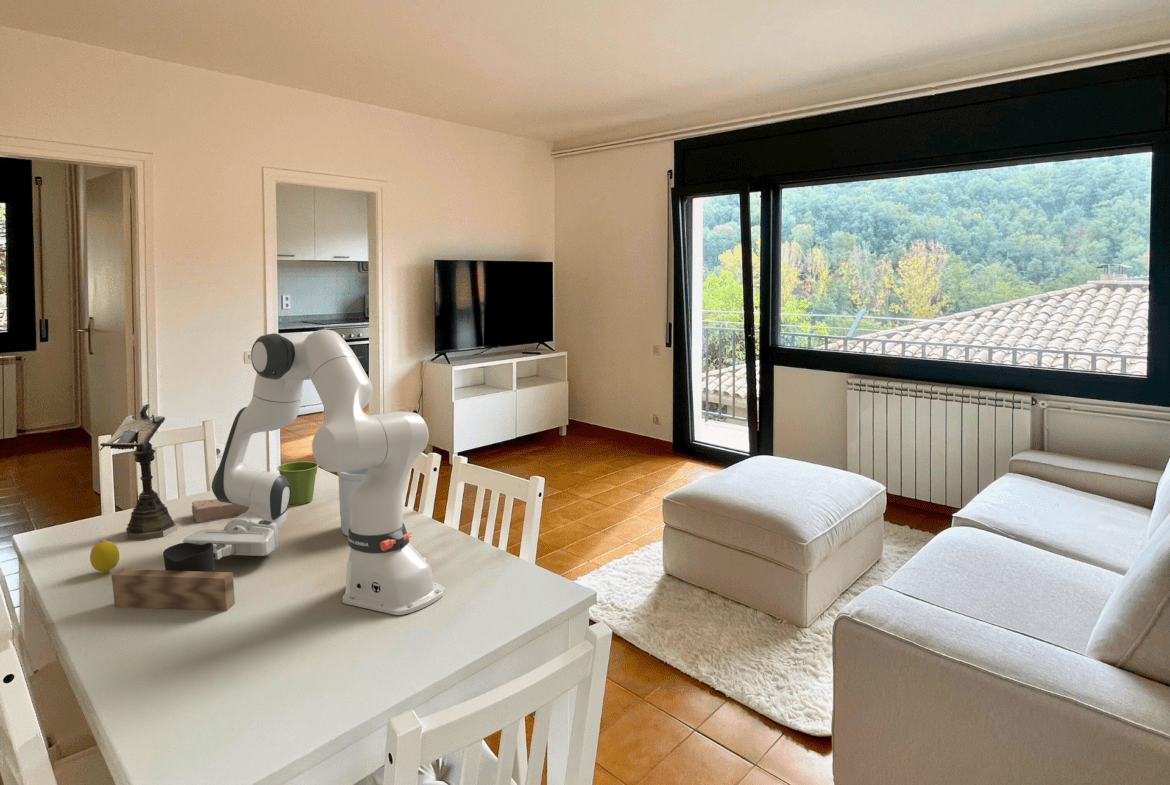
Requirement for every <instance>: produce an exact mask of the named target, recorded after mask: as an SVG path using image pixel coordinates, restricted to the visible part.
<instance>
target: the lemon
mask: <svg viewBox="0 0 1170 785" xmlns="http://www.w3.org/2000/svg"><path fill="white" fill-rule="evenodd" d="M89 554H90V555H89V561H90V564H91V566H92V568H94V570H97V571H98V572H103V573H104V574H108V573H109V572H110V571H111V570H112V569H114V568H115V567H116V566H117V565H118V563H119V561H120V551H119V548H118V546H117V545H116V543H114V542H113V541H109V540H106V539H101V540H100V541H99V542H97V543H95V545H93V546H92V548H91V550H90V553H89Z"/></svg>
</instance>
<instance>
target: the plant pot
mask: <svg viewBox="0 0 1170 785" xmlns="http://www.w3.org/2000/svg"><path fill="white" fill-rule="evenodd" d="M319 467H320V466H319V464H318V463H317V462H316V461H315V462H314V461H306V460H305V461H300V460H299V461H292V462H286V463H282V464H280V465H278V466H277V467H276V469H277V470H278V471H279V475H283V476H284V477H285V478H286V479H287V481H288V483H289V485H290V488H291V499H290V503H289V505H294V506H295V505H296V506H297V505H298V506H300V505H301V506H302V505H303V504H306V503H312V501H313V499H314V493H315V492H314V491H315V485H316V484H315V483H316V475H317V472H318V468H319Z"/></svg>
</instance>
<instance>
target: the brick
mask: <svg viewBox="0 0 1170 785" xmlns="http://www.w3.org/2000/svg"><path fill="white" fill-rule="evenodd" d="M191 504H192V505H191V513H192V515H193V518H194V521H195V522H197V523H205V522H206V523H207V522H211V521H212V522H213V521H217V520H224V519H230V518H236V517H238V516H239V515H241V514H243V513H246V512H247V511H248V510H249V507H247V506H243V505H239V504H232V503H225V502H220V501H219V500H218V499H217V498H214V499H200V500H194V501H192V502H191Z"/></svg>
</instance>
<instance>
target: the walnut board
mask: <svg viewBox="0 0 1170 785" xmlns="http://www.w3.org/2000/svg"><path fill="white" fill-rule="evenodd" d="M233 573H234V572H228V571H227V572H225V571H214V572H201V571H170V570H165V569H137V568H136V569H133V568H120V569H119V570H116V571H115V572H114V573H112V574H111V583H112V593H113V603H114V608H143V609H169V610H170V609H171V610H172V609H173V610H194V611H195V610H199V611H203V610H204V611H228V610H229V609H231V608H232V607H234V605H235V604H236V602H235V601H236V599H235V586H234V576H233V575H234V574H233Z"/></svg>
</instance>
